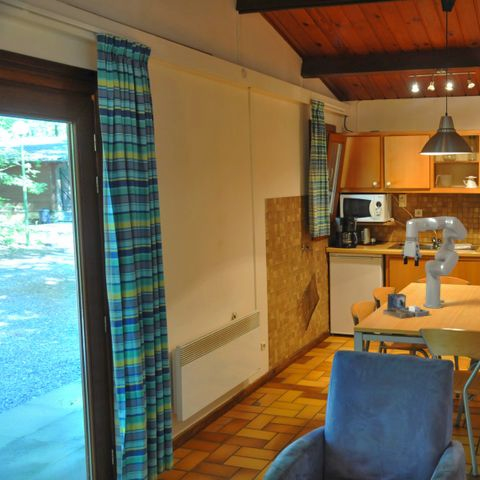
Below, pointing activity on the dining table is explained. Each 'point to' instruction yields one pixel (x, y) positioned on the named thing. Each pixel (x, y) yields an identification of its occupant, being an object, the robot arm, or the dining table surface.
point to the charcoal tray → (418, 314)
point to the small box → (396, 301)
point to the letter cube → (414, 308)
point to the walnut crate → (398, 313)
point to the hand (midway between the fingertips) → (410, 265)
